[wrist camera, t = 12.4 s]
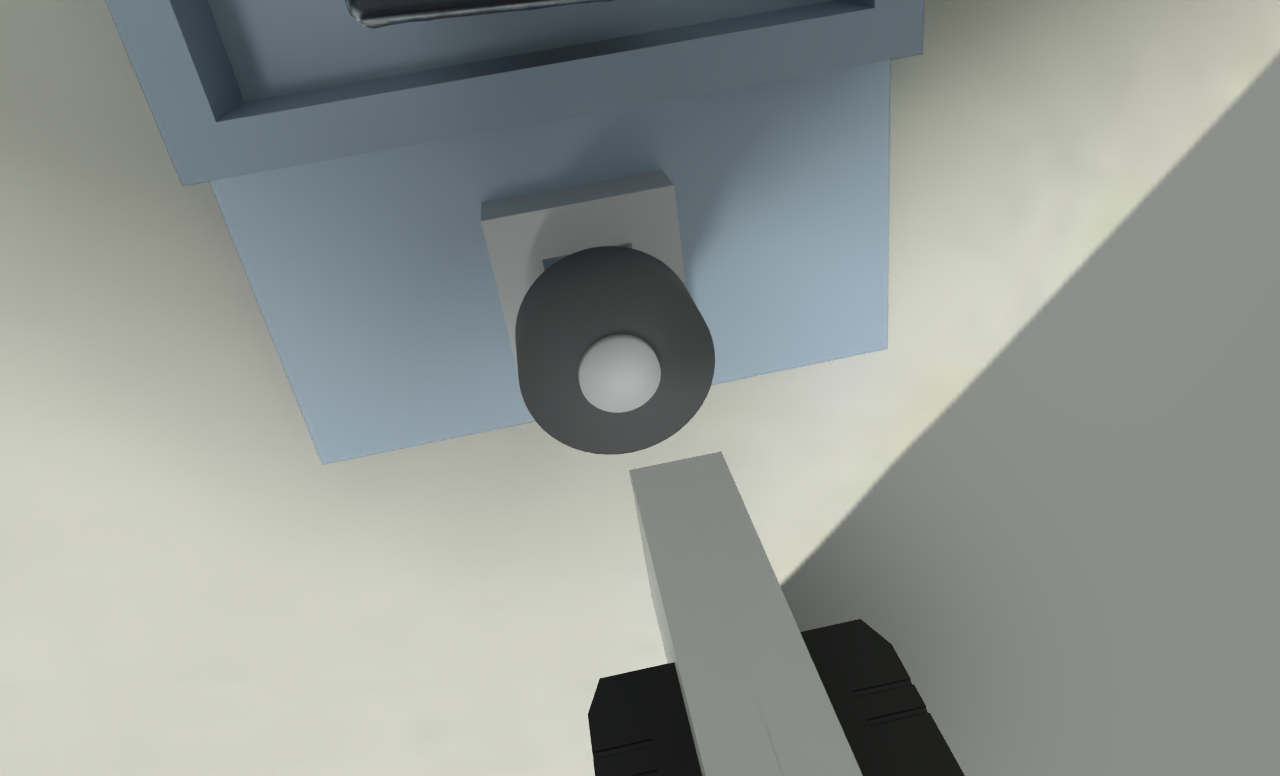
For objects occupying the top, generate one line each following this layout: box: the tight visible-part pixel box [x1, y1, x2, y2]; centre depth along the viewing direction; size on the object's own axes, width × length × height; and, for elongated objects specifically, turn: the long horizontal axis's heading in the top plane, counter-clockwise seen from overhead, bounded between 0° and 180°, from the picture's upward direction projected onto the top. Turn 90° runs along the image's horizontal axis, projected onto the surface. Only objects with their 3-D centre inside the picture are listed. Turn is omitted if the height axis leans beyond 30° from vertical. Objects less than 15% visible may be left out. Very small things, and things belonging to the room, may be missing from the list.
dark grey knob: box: [515, 246, 715, 454], centre depth 20 cm, size 4×4×4 cm
